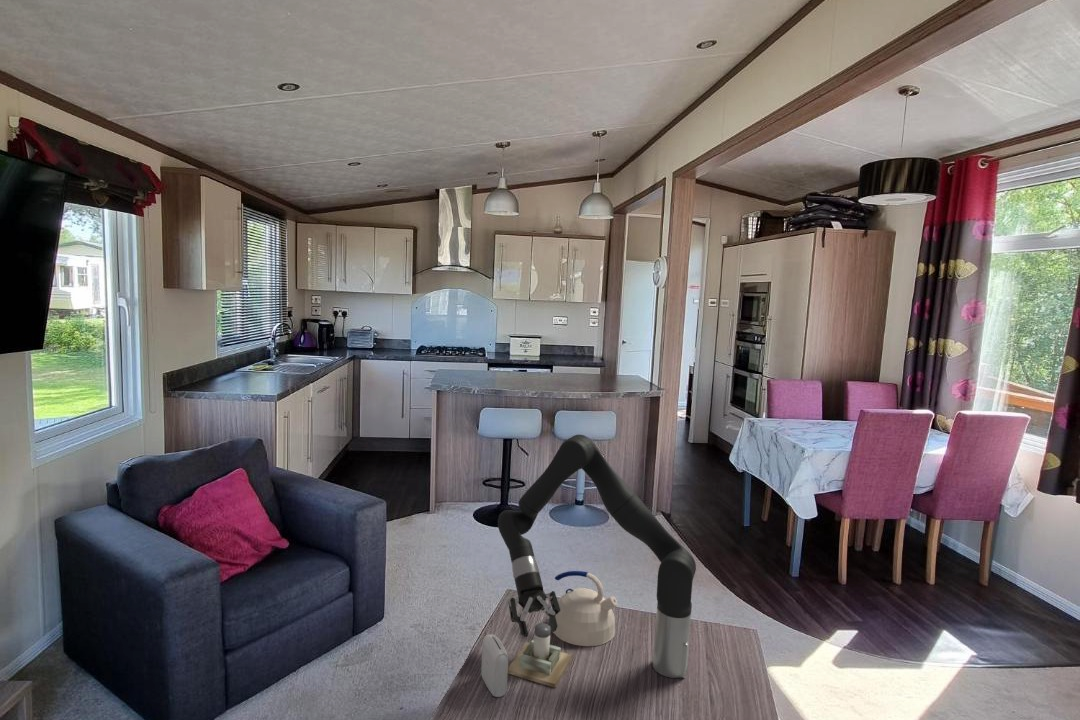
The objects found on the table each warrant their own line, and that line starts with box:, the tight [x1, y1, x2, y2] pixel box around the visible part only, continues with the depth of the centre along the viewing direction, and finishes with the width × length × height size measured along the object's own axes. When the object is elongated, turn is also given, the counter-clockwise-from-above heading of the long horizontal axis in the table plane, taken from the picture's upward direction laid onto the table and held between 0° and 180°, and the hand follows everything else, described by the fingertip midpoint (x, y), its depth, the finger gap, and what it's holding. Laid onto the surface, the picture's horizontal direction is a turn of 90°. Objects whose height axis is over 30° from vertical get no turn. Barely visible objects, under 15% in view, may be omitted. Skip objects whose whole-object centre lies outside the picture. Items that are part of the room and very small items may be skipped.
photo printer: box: [480, 633, 509, 698], centre depth 152 cm, size 10×4×12 cm, turn 26°
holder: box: [507, 639, 573, 689], centre depth 161 cm, size 14×14×4 cm
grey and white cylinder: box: [533, 622, 552, 661], centre depth 161 cm, size 4×4×10 cm
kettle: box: [552, 570, 618, 647], centre depth 180 cm, size 20×21×18 cm
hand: (540, 633), depth 161 cm, fingers open, 8 cm apart
